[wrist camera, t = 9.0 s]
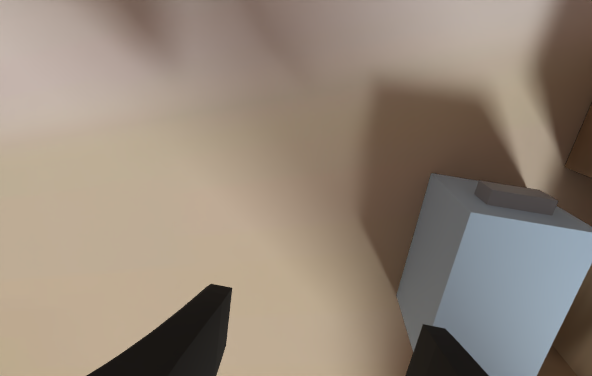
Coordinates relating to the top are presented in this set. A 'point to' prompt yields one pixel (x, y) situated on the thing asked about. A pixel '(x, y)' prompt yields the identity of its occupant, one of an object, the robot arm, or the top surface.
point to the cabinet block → (493, 271)
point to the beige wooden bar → (588, 301)
